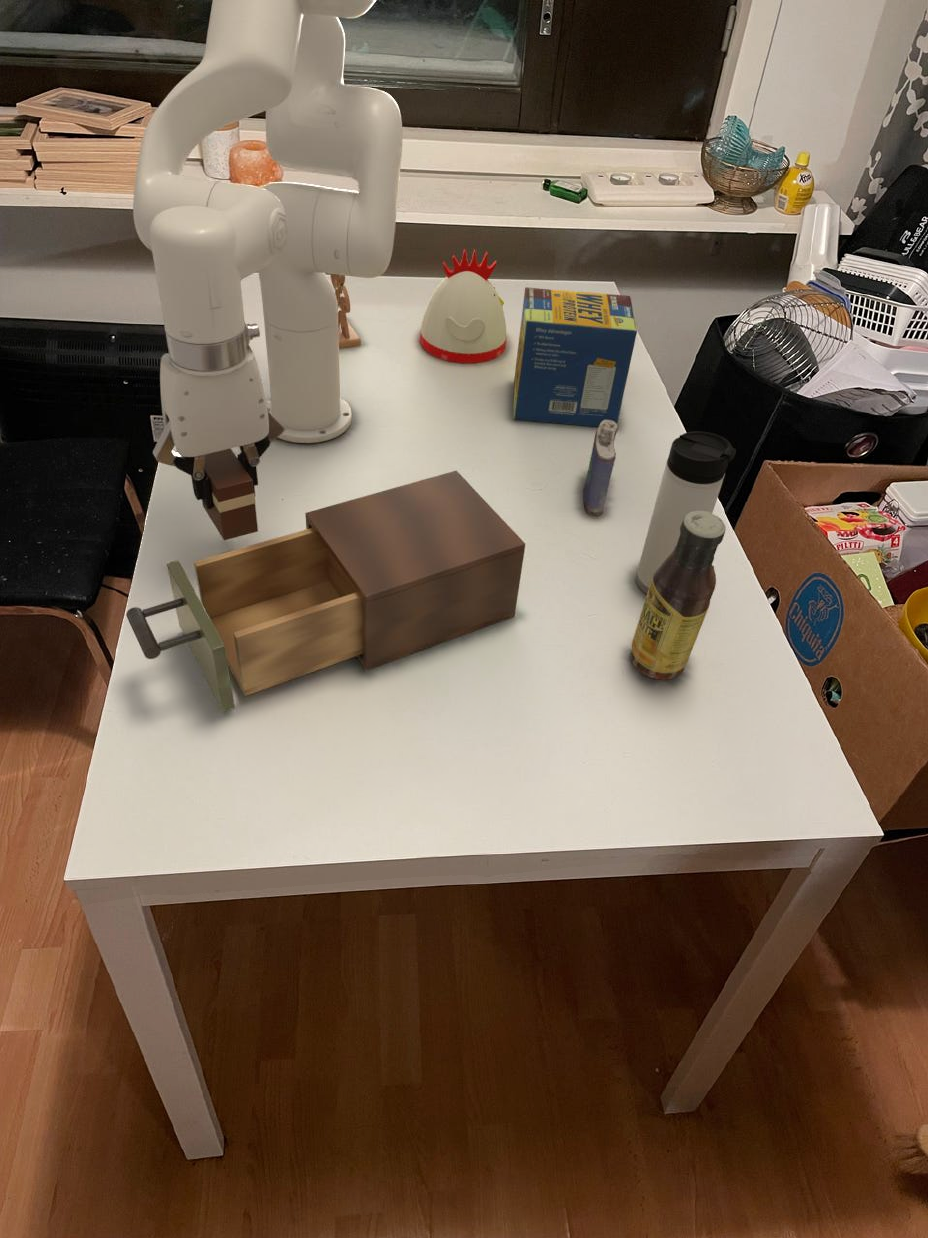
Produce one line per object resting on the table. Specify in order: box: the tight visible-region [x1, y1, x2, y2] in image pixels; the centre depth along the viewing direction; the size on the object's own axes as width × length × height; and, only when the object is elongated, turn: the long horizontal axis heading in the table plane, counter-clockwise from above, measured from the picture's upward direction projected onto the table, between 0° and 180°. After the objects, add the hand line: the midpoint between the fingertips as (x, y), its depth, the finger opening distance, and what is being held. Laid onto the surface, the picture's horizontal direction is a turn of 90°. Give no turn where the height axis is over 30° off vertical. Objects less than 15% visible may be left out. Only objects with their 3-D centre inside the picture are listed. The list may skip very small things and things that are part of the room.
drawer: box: [125, 528, 363, 712], centre depth 93 cm, size 23×13×9 cm, turn 121°
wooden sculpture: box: [329, 273, 362, 349], centre depth 144 cm, size 9×4×12 cm, turn 25°
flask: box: [582, 420, 619, 516], centre depth 118 cm, size 9×3×11 cm, turn 172°
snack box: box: [201, 448, 259, 542], centre depth 102 cm, size 4×7×7 cm, turn 31°
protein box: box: [512, 287, 638, 428], centre depth 132 cm, size 10×15×16 cm
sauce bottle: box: [630, 511, 726, 681], centre depth 93 cm, size 6×6×20 cm
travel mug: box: [635, 431, 737, 595], centre depth 103 cm, size 6×7×20 cm
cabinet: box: [305, 470, 526, 671], centre depth 101 cm, size 19×15×11 cm
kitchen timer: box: [419, 248, 507, 364], centre depth 144 cm, size 14×14×15 cm
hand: (227, 495), depth 102 cm, fingers closed on snack box, 4 cm apart
